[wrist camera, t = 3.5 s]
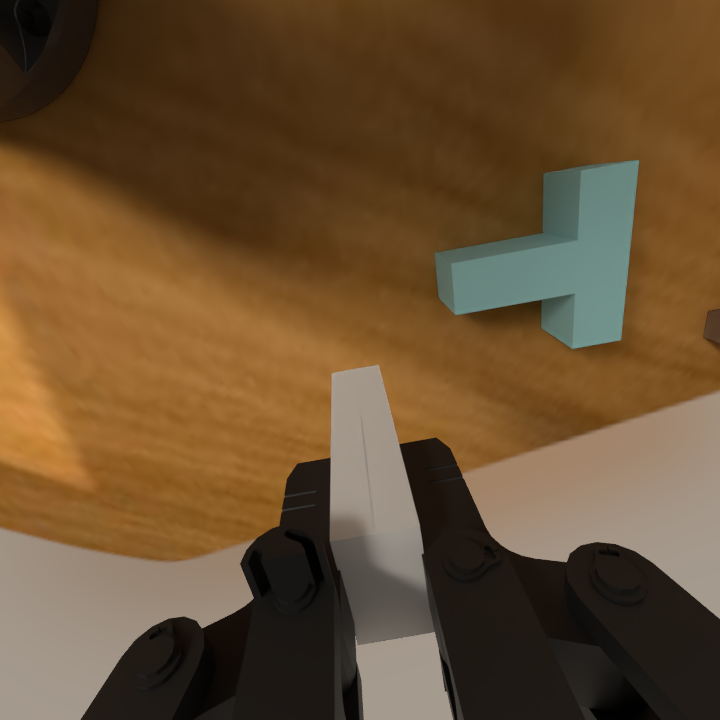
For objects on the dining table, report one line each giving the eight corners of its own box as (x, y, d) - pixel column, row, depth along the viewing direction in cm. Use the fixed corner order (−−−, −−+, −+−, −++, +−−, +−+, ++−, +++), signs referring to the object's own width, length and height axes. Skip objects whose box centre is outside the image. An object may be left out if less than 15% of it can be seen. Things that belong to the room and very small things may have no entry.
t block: (443, 345, 28) (459, 369, 24) (429, 194, 24) (446, 195, 20) (583, 320, 28) (620, 340, 24) (592, 164, 24) (639, 159, 20)
